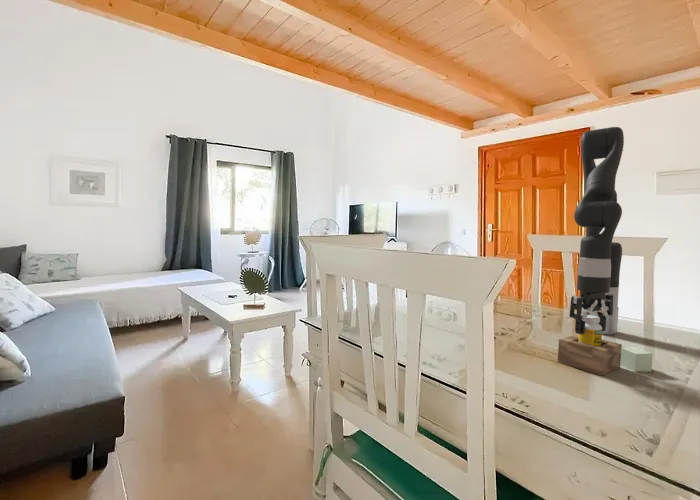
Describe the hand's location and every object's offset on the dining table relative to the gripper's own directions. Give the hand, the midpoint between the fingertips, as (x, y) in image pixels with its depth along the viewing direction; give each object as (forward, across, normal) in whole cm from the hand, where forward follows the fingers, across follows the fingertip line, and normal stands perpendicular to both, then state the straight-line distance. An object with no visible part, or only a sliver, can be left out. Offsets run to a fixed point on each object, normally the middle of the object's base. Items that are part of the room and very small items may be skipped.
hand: (590, 332), depth 100 cm
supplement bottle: (+5, 0, 0) cm, 5 cm away
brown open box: (+9, 0, 0) cm, 9 cm away
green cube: (+9, -10, +6) cm, 15 cm away
